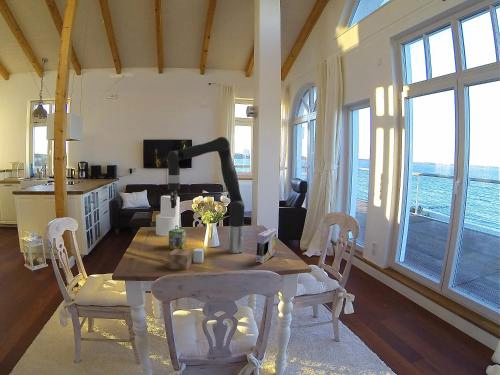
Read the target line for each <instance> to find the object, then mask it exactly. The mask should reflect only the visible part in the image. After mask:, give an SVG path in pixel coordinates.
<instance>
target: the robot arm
mask: <svg viewBox="0 0 500 375" xmlns="http://www.w3.org/2000/svg"><path fill="white" fill-rule="evenodd" d="M230 145H231V144H230V141H229V139H228V138H227V137H225V136H220V137H219V136H218V137H217V138H216V139H213V140H211V141H207V142H205V143H201V144H200V143H199V144H195V145H192V146H186V147H184V148H181V149H176V150H171V151H169V152H168V153H167V166H168V172H167V173H168V175H167V189H168V190H170V191H171V192H169V193H170V194H169V196H170V202H171V208H175V206H176V200H177V197H178V191H179V190H180V189H181V176H180V174H181V173H180V166H179V164H180V163H179V161H184V160H186V159H193V158H195V157H198V156H202V155H206V154H208V153H214V152H217V153H218V156H219V160H220V167H221V168H220V170H221V175H222V179H223V183H224V186H225V188H226V191H227V193H228V195H229V196H228V197H229V200H230V207H229V217H228V218H229V221H228V222H229V230H228V252H229V253H232V254H240V253H239V252H242V253H243V252H244V229H245V228H244V226H245V221H244V220H245V209H246V208H245V203H244V200H243V198H242V194H241V191H240V184H239V178H238V174H237V171H236V170H237V169H236V167H235V164H234V161H233V159H232V153H231V146H230ZM172 199H173V200H172Z"/></svg>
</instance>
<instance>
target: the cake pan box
mask: <svg viewBox="0 0 500 375" xmlns="http://www.w3.org/2000/svg"><path fill="white" fill-rule="evenodd" d="M277 231H278V230H277V229H276V228H270V229H266V230H264V231H262V232H261V233H258V234H257V241H256V242H257V243H256V254H255V255H256V257H255V263H256V262H264V261H265V260H266V259H268V258H269V257H271V256H273V255H274V254H275V253H276V242H277ZM275 255H276V254H275Z"/></svg>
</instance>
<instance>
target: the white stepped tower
mask: <svg viewBox="0 0 500 375" xmlns="http://www.w3.org/2000/svg"><path fill="white" fill-rule="evenodd" d="M170 196H171V195H161V196H160V213H158V214H156V215H155V234H156V235H157V236H160V237H169V231H170V230H172V229H177V227H176V228H175V226H176V225H178V229H180V196H177V200H176V206H175V208H171V202H170ZM172 200H173V199H172Z"/></svg>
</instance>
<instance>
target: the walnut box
mask: <svg viewBox="0 0 500 375" xmlns="http://www.w3.org/2000/svg"><path fill="white" fill-rule="evenodd" d="M192 251H193V250H192V249H173V250H172V251H170V252H169V254H168V269H169V268H170V269H172V270H184V271H185V270H186V271H187V270H188V268H189V267H190V266H191V265H192V256H193V255H192V254H193V253H192Z"/></svg>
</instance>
